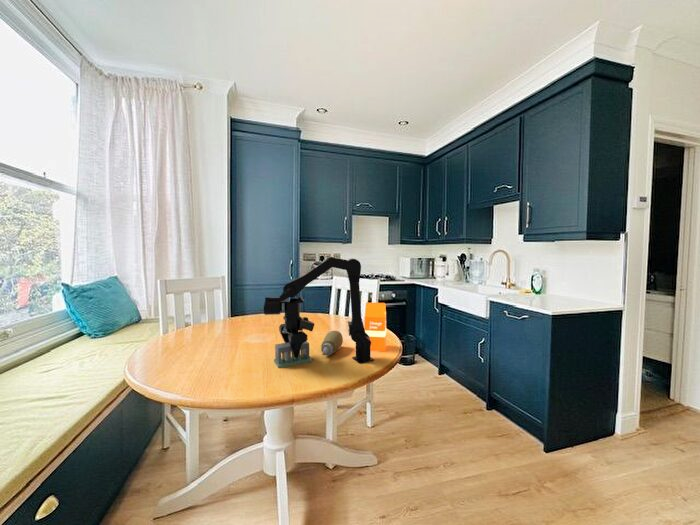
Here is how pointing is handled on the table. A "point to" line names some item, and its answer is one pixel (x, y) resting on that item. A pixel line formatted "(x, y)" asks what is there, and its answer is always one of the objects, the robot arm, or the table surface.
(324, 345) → the squeeze bottle
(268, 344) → the table surface
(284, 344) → the block
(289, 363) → the strip
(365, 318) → the orange juice
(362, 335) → the robot arm
